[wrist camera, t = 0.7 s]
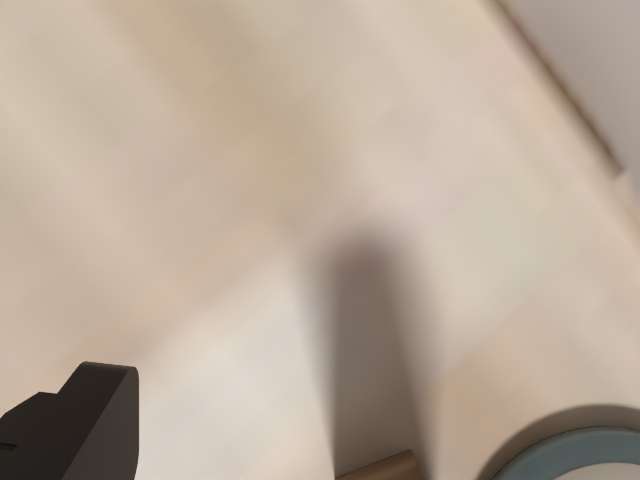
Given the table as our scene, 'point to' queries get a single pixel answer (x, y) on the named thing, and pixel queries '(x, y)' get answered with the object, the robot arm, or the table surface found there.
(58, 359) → the table surface
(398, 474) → the walnut block
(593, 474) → the teal dish
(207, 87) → the table surface
